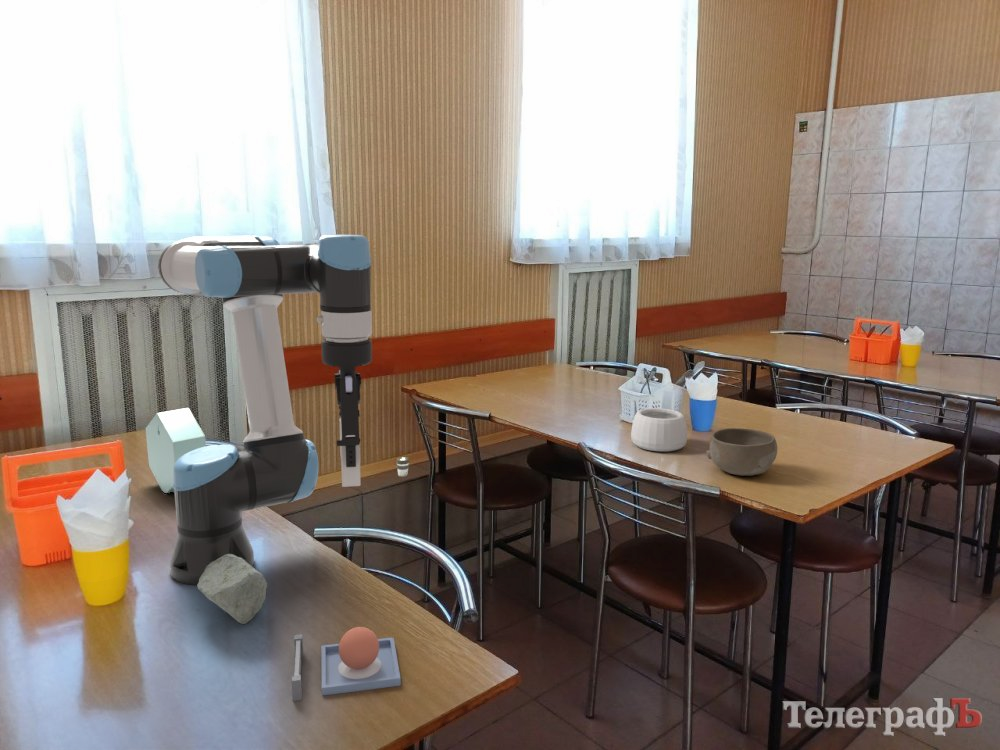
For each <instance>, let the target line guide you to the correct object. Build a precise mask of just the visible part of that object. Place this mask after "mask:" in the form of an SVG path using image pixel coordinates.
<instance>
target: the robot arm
mask: <svg viewBox="0 0 1000 750" xmlns="http://www.w3.org/2000/svg"><path fill="white" fill-rule="evenodd" d="M370 253H371V252H370V241H369V239H368V238H367V237H366V235H365V236H364V235H361V234H335V233H334V234H333V233H332V234H323V235H321V236H320V237H319V239H318V243H304V244H292V245H291V244H290V245H288V244H287V245H286V244H285V245H283V244H282V245H281V244H280V242H279V241H277V239H275V238H273V237H271V236H259V235H254V234H250V235H229V236H226V235H225V236H216V235H215V236H206V235H202V236H191V237H186V238H184V239H180V240H177V241H174V242H172V243H170V244H169V245H168V246H166V247H165V249H164V250H163V251H162V252H161V254H160V255H159V259H158V262H157V264H158V265H157V268H158V274H159V276H160V279H161V280H162V282H163V283H164V285H166V286H167V287H168V288H170V289H171V290H172V291H175V292H177V293H180V294H184V295H190V296H197V297H206V298H221V299H222V303H223V305H222V306H223V307H224V308H225V309H227V310H228V311H229V312H230V313H232V317H233V325H234V331H235V337H236V338H235V339H236V344H237V345H236V346H237V351H238V359H239V366H240V372H241V377H242V378H241V380H242V387H243V392H244V394H243V395H244V400H245V406H246V413H247V419H248V420H247V421H248V427H249V431H248V433H247V435H246V436H245V438H244V439H243V448H244V450H239V449H238V448H237V447H236V446H235V445H234V444H226V443H222V444H210V445H206V446H205V447H201V448H198V449H195V450H192V451H190V452H188V453H186V454H184V455H183V456H181V457H180V458H179V459H178V460H177V461H176V462H175V464H174V467H173V489H174V492H173V493H174V502H175V504H174V505H175V514H176V515H175V518H176V526H177V527H176V528H177V537H176V538H175V544H174V547H173V551H172V555H171V559H170V564H169V566H170V567H169V568H170V574H171V575H170V576H171V578H172V579H173V580H174V581H176V582H178V583H180V584H184V585H190V586H191V585H192V586H197V584H198V583H199V579H200V577H201V575H202V574H203V573H204V571H205V568H206V566H207V565H209V564H210V563H211V562H213V561H215V560H217V559H218V558H220V557H222V556H224V555H226V554H233V555H235V556H237V557H240V558H242V559H243V560H245V561H246V562H247V563H248V564H249V565H251V566H252V567H253V568H254V564H255V554H254V553H255V552H254V548H253V546H252V544H251V541H250V540H249V538H248V535H247V532H246V530H245V529H244V524H243V512H247V511H250V510H251V511H252V510H256V509H260V508H266V507H270V506H271V507H272V506H276V505H280V504H285V503H293V502H295V501H298V500H301V499H306V498H307V497H309V496H311V495H312V493H313V492H314V490H315V489H316V485H317V482H318V478H319V457H318V452H317V450H316V446H315V444H314V442H312V441H311V440H309V439H305V437H304V432H303V430H301V429H300V428H299V427H297V426H296V424H295V422H294V415H293V408H292V407H293V406H292V403H291V401H292V400H291V396H290V394H291V393H290V388H289V381H288V375H287V368H286V362H285V356H284V348H283V342H282V341H283V340H282V334H281V327H280V321H279V314H278V307H279V306H280V304H282V302H283V300H284V296H283V295H290V294H292V295H293V294H296V295H298V294H314V293H315V294H316V293H317V294H319V302H320V305H319V308H320V316H316V322H317V323H319V324H321V323H322V324H321V327H320V328H321V331H320V332H321V336H322V337H324V338H323V339H322V341H320V342H321V343H320V344H321V361H322V363H323V364H324V365H326V366H329V367H333V368H334V367H337V368H338V373H334V375H333V376H334V388H335V390H336V403H337V405H339V406H338V409H339V412H338V414H339V415H338V416H339V417H340V418H339V420H338V421H339V439H338V440H336V447H339V449H340V450H339V451H340V452H339V453H340V455H339V457H340V458H341V465H340V466H341V487H342V488H344V487H345V488H346V487H348V488H350V487H361V484H362V483H361V482H362V481H361V450H360V449H361V448H360V447H361V445H360V444H361V438H360V425H359V424H360V421H359V419H360V418H359V417H360V416H361V415H360V409H359V405H360V403H361V388H362V376H361V373H359V372H356V367H357V368H358V367H359V366H361V367H363V366H364V367H365V366H366V365H367V366H368V365H369V364H370V363H371V362H372V360H373V344H372V343H373V341H372V340H371V339H370V338H369V337H371V335H372V334H373V324H372V323H373V322H372V321H373V320H372V319H373V318H372V315H373V314H372V313H373V312H372V307H371V306H372V305H371V304H372V303H371V301H372V300H371V299H372V298H371V297H372V293H371V292H372V287H371V286H372V285H371V283H372V282H371V281H372V280H371V279H372V278H371V277H372V276H371V274H372V269H371V268H372V266H371V265H372V258H371V254H370Z"/></svg>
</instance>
